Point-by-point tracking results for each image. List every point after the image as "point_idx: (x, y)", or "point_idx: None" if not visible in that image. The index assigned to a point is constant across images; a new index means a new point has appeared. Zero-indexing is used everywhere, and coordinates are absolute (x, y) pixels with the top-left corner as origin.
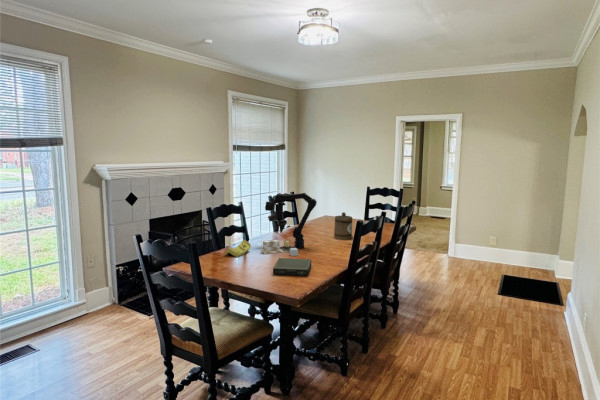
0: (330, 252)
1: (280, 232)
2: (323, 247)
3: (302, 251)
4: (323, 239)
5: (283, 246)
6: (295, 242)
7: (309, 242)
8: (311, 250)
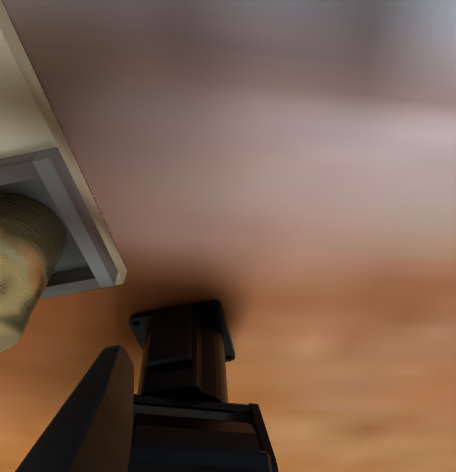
0: None
1: (106, 348)
2: None
3: (29, 343)
4: (400, 460)
5: (72, 206)
6: (146, 359)
7: (351, 401)
8: None
